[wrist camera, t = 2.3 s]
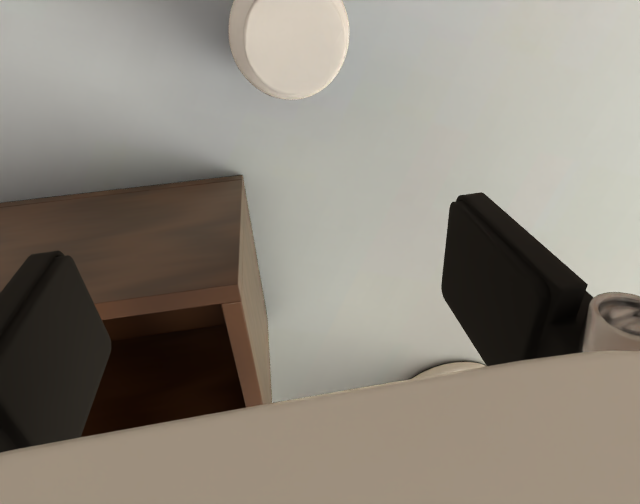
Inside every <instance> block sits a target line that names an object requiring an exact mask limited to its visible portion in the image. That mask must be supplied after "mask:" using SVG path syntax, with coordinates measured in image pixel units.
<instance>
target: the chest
mask: <svg viewBox="0 0 640 504" xmlns="http://www.w3.org/2000/svg"><path fill="white" fill-rule="evenodd" d="M51 251H61V252H62V253H63V254H64V255H65V256H66V255H69V256H71V257H72V258H73V260H74V262H75V264H76V266H77V268H78V271H79V273H80V275H81V277H82V279H83V281H84V283H85V285H86V288H87V290H88V292H89V294H90V296H91V298H92V300H93V302H94V305H95V307H96V309H97V311H98V313H99V315H100V317H101V320H102V322H103V324H104V326H105V328H106V330H107V332H108V334H109V337H110V339H111V353H110V356H109V359H108V361H107V364H106V367H105V370H104V373H103V376H102V378H101V381H100V384H99V387H98V390H97V393H96V395H95V398H94V401H93V404H92V407H91V409H90V412H89V415H88V418H87V421H86V424H85V426H84V429H83V432H82V435H81V437H86V436H91V435H97V434H102V433H108V432H113V431H119V430H124V429H130V428H135V427H141V426H146V425H152V424H158V423H163V422H169V421H174V420H180V419H185V418H191V417H196V416H202V415H207V414H213V413H219V412H224V411H230V410H236V409H241V408H247V407H253V406H258V405H264V404H270V403H272V390H271V372H270V353H269V334H268V318H267V313H266V307H265V301H264V295H263V290H262V284H261V278H260V272H259V266H258V261H257V255H256V249H255V243H254V238H253V232H252V226H251V220H250V214H249V209H248V203H247V197H246V191H245V186H244V180H243V176H242V175H238V176H229V177H220V178H212V179H203V180H194V181H186V182H177V183H168V184H160V185H151V186H142V187H134V188H125V189H116V190H108V191H99V192H90V193H82V194H73V195H64V196H56V197H47V198H38V199H30V200H21V201H12V202H4V203H0V293H1V291H2V290H3V289H4V287H5V286H6V285H7V284H8V282H9V281H10V280H11V278H12V277H13V276H14V275H15V273H16V272H17V271H18V269H19V268H20V267H21V266H22V264H23V263H24V262H25V260H26V259H27V258H28V257H29V256H30V255H31V254H36V253H43V252H51Z"/></svg>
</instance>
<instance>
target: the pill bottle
mask: <svg viewBox="0 0 640 504" xmlns="http://www.w3.org/2000/svg"><path fill="white" fill-rule="evenodd" d="M228 34H229V43H230V48H231V52H232V55H233V58H234V60H235V62H236V64H237V66H238V68H239V69H240V71H241V72H242V74H243V75H244V76H245V78H246V79H247V80H248V81H249V82H250V83H251V84H252V85H254V86H255V87H256V88H257V89H259V90H260V91H262V92H264V93H265V94H268V95H270V96H273V97H276V98H280V99H287V100H295V99H303V98H306V97H309V96H312V95H314V94H316V93H318V92H319V91H321V90H322V89H324V88H325V87H326V86H327V85H329V84H330V83H331V82H332V80H333V79H334V78H335V77H336V75H337V74H338V72H339V71H340V69H341V67H342V65H343V63H344V60H345V57H346V54H347V50H348V45H349V22H348V17H347V13H346V10H345V7H344V4H343V2H342V0H234V2H233V4H232V7H231V11H230V17H229V29H228Z"/></svg>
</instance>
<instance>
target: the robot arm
mask: <svg viewBox="0 0 640 504" xmlns="http://www.w3.org/2000/svg"><path fill="white" fill-rule="evenodd" d="M587 285H588V284H586V283H585V282H584V281H583V280H582V279H581V278H580V277H578V276H577V275H576V274H575V273H574V272H573V271H572V270H570V269H569V268H568V267H567V266H566V265H565V264H564V263H563V262H561V261H560V260H559V259H558V258H557V257H556V256H555V255H553V254H552V253H551V252H550V251H549V250H548V249H547V248H545V247H544V246H543V245H542V244H541V243H540V242H539V241H537V240H536V239H535V238H534V237H533V236H532V235H531V234H529V233H528V232H527V231H526V230H525V229H524V228H523V227H522V226H520V225H519V224H518V223H517V222H516V221H515V220H514V219H512V218H511V217H510V216H509V215H508V214H507V213H506V212H504V211H503V210H502V209H501V208H500V207H499V206H498V205H496V204H495V203H494V202H493V201H492V200H491V199H490V198H488V197H487V196H486V195H485V194H484V193H474V194H467V195H460V196H459V197H458V198H457V200H456V202H452V203H451V205H450V210H449V219H448V229H447V238H446V248H445V257H444V267H443V276H442V294H443V297H444V299H445V301H446V302H447V304H448V305H449V307H450V309H451V310H452V312H453V313H454V315H455V316H456V318H457V320H458V321H459V323H460V324H461V326H462V327H463V329H464V331H465V332H466V334H467V335H468V337H469V338H470V340H471V342H472V343H473V345H474V346H475V348H476V349H477V351H478V353H479V354H480V356H481V357H482V359H483V360H484V362H485V364H486V365H487V366H485V365H482V364H479V363H472V362H455V363H449V364H444V365H440V366H437V367H434V368H431V369H429V370H427V371H424V372H422V373H420V374H419V375H417V376H415V377H414V378H412V379H408V380H403V381H397V382H391V383H385V384H379V385H373V386H367V387H361V388H355V389H350V390H344V391H338V392H333V393H327V394H321V395H315V396H310V397H304V398H298V399H292V400H287V401H281V402H275V403H270V404H264V405H258V406H253V407H247V408H241V409H236V410H230V411H224V412H219V413H213V414H207V415H202V416H196V417H191V418H185V419H180V420H174V421H169V422H163V423H158V424H152V425H146V426H141V427H135V428H130V429H124V430H119V431H113V432H108V433H102V434H97V435H91V436H86V437H81V435H82V432H83V429H84V426H85V424H86V421H87V418H88V415H89V412H90V409H91V407H92V404H93V401H94V398H95V395H96V393H97V390H98V387H99V384H100V381H101V378H102V376H103V373H104V370H105V367H106V364H107V361H108V359H109V356H110V353H111V339H110V337H109V334H108V332H107V330H106V328H105V326H104V324H103V322H102V320H101V317H100V315H99V313H98V311H97V309H96V307H95V305H94V302H93V300H92V298H91V296H90V294H89V292H88V290H87V288H86V285H85V283H84V281H83V279H82V277H81V275H80V273H79V271H78V268H77V266H76V264H75V262H74V260H73V258H72V257H71V256H69V255H66V256H65V255H64V254H63V253H62V252H61V251H51V252H43V253H36V254H31V255H30V256H29V257H28V258H27V259H26V260H25V262H24V263H23V264H22V266H21V267H20V268H19V269H18V271H17V272H16V273H15V275H14V276H13V277H12V278H11V280H10V281H9V282H8V284H7V285H6V286H5V287H4V289H3V290H2V291H1V293H0V504H640V296H637V295H633V294H628V293H621V292H607V293H603V294H599V295H597V296H596V297H594V298H593V297H592V296H591V295H590V294H589V293H588V292H587V291H586V288H587Z"/></svg>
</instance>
